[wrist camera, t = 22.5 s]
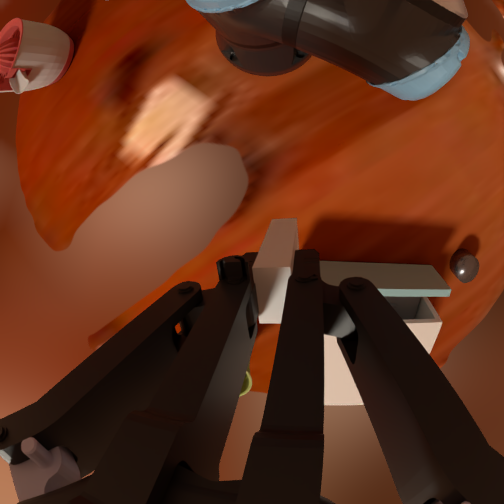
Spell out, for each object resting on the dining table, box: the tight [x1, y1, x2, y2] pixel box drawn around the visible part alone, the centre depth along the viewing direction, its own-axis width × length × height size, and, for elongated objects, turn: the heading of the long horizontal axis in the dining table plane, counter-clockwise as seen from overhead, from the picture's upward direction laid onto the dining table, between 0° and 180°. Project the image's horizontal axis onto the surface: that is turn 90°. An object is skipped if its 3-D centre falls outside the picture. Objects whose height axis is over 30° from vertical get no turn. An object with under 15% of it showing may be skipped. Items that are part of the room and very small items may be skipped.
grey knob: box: [450, 249, 479, 283], centre depth 38 cm, size 5×5×4 cm
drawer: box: [320, 261, 451, 320], centre depth 44 cm, size 24×24×9 cm
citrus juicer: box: [0, 18, 74, 94], centre depth 28 cm, size 16×17×20 cm
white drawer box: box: [324, 297, 442, 405], centre depth 45 cm, size 20×24×10 cm
